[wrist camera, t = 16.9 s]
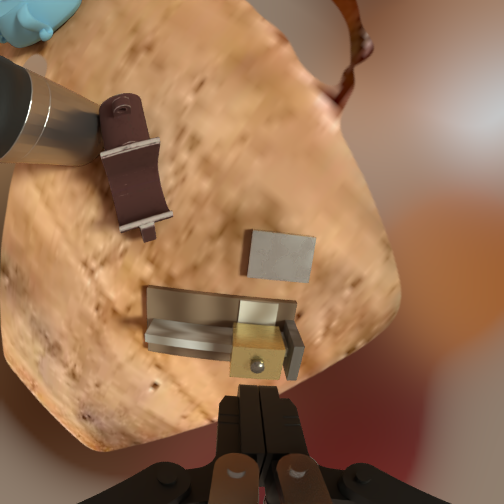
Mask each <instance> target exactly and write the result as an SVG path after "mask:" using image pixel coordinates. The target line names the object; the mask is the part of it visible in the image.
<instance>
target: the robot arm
mask: <svg viewBox="0 0 504 504" xmlns="http://www.w3.org/2000/svg"><path fill="white" fill-rule="evenodd" d="M99 108H100V105H98V104H96V103H94V102H92V101H90V100H88V99H87V98H85V97H83V96H81V95H79V94H77V93H75V92H73V91H71V90H69V89H67V88H65V87H63V86H61V85H59V84H57V83H55V82H53V81H51V80H49V79H47V78H45V77H43V76H41V75H38V74H36V73H34V72H32V71H30V70H28V69H25V68H23V67H21V66H19V65H16V64H15V63H13V62H12V61H10V60H8V59H7V58H5V57H3V56H0V163H29V164H51V165H66V166H82V165H85V164H87V163H89V162H91V161H92V160H94V159H95V158H96V157H97V156H98V155H99V154H100V153H101V151H102V149H103V148H104V143H103V137H102V131H101V124H100V117H99ZM262 486H263V487H265V494H266V496H265V498H264V504H450V503H448V502H446V501H443V500H441V499H438V498H436V497H434V496H432V495H429V494H427V493H425V492H423V491H421V490H419V489H416V488H414V487H412V486H410V485H408V484H406V483H404V482H402V481H400V480H398V479H396V478H394V477H392V476H390V475H389V474H387V473H385V472H383V471H381V470H379V469H377V468H376V467H374V466H372V465H369V464H366V463H356V464H352V465H350V466H349V467H347V468H346V470H338V469H330V468H325V467H322V466H320V465H318V464H317V463H316V461H315V460H314V459H312V458H311V457H310V456H309V454H308V451H307V446H306V443H305V439H304V435H303V431H302V428H301V424H300V420H299V416H298V412H297V408H296V406H295V405H294V404H293V403H292V402H291V400H290V399H286V398H281V399H280V398H279V394H278V389H277V386H257V385H242V384H239V387H238V394H237V396H225V397H224V398H223V399H222V401H221V402H220V403H219V414H218V426H217V443H216V456H215V458H214V460H213V461H212V462H211V463H209V464H208V465H206V466H204V467H200V468H195V469H188V470H185V469H184V468H183V467H181V466H180V465H178V464H175V463H171V462H159V463H155V464H153V465H151V466H149V467H148V468H146V469H144V470H142V471H141V472H139V473H137V474H135V475H134V476H132V477H130V478H128V479H126V480H125V481H123V482H121V483H119V484H117V485H115V486H113V487H111V488H109V489H107V490H105V491H103V492H101V493H99V494H97V495H95V496H93V497H91V498H89V499H86V500H84V501H82V502H80V503H78V504H259V487H262Z"/></svg>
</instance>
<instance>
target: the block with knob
mask: <svg viewBox="0 0 504 504" xmlns="http://www.w3.org/2000/svg"><path fill="white" fill-rule="evenodd" d="M285 352H286V349H285V346H284V342H283V339H282V335H281V332H280V329H279V326H267V325H254V324H243V323H233V336H232V350H231V353H230V377H239V378H253V379H271V380H279V379H280V374H281V370H282V365H283V361H284V356H285Z"/></svg>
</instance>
